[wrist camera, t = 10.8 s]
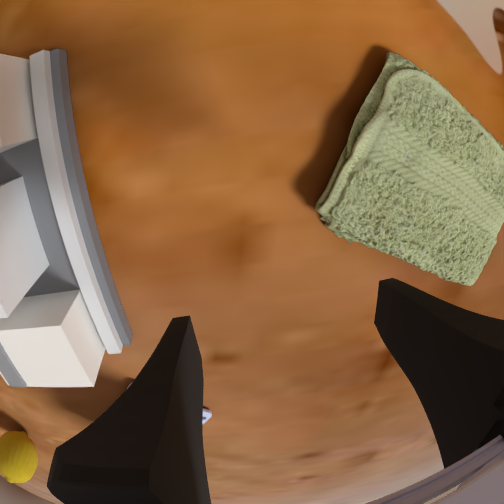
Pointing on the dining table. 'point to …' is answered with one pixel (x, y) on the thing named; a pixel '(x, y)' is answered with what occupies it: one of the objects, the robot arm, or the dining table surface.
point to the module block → (18, 246)
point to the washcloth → (418, 177)
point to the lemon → (17, 456)
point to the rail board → (54, 235)
